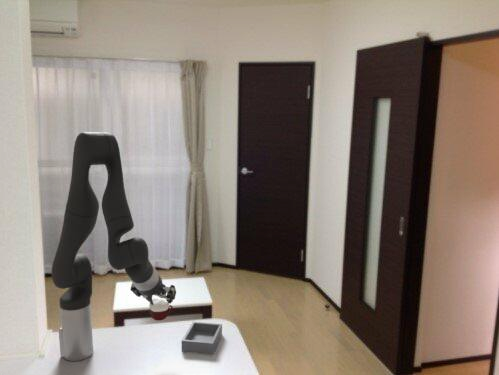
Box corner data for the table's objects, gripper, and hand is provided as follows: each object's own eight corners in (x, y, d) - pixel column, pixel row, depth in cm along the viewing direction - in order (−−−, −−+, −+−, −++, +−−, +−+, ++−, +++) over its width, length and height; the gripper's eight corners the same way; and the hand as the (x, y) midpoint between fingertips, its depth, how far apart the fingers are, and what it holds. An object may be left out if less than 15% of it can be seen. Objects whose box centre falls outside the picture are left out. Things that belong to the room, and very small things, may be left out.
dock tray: (181, 351, 156) (181, 340, 155) (193, 332, 169) (192, 321, 168) (212, 354, 154) (212, 343, 154) (222, 334, 168) (222, 324, 167)
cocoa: (172, 314, 156) (173, 279, 155) (173, 322, 150) (174, 285, 149) (142, 315, 154) (143, 279, 153) (142, 323, 148) (143, 286, 147)
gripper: (172, 268, 140) (184, 290, 154) (126, 265, 143) (142, 287, 156) (166, 292, 136) (179, 312, 150) (119, 288, 139) (136, 309, 152)
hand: (160, 299), depth 153 cm, fingers closed on cocoa, 6 cm apart
